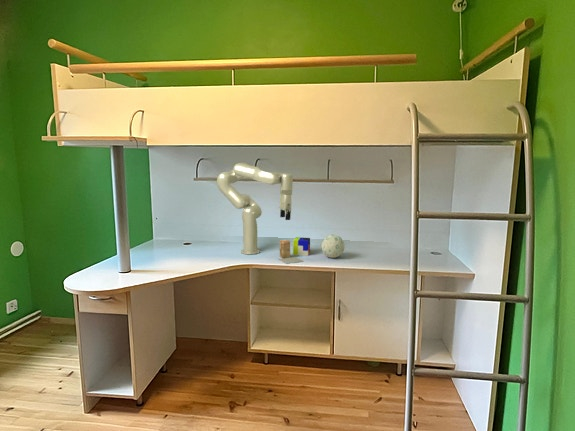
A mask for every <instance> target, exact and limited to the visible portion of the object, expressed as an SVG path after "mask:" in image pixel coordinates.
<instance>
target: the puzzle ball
mask: <svg viewBox="0 0 575 431" xmlns="http://www.w3.org/2000/svg"><path fill="white" fill-rule="evenodd" d="M320 246H321V251H322V253H323V254H324V255H325V256H326V257H328V258H331V259H335V258H338V257H339V256H341V255H342V254H343V253H344V251H345V242H344V240H343V239H342V237H341V236H339V235H338V234H329V235H326V236H325V237H324V238H323V239H322V240H321V244H320Z"/></svg>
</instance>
